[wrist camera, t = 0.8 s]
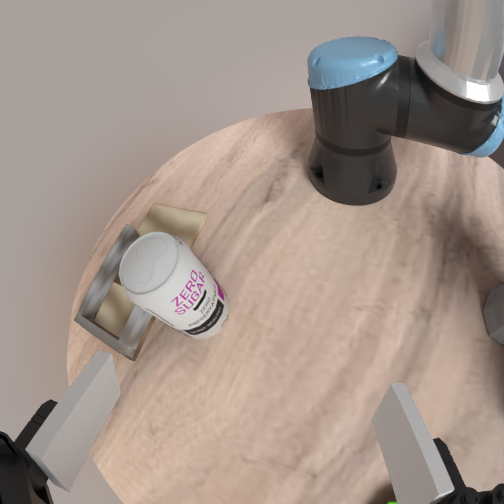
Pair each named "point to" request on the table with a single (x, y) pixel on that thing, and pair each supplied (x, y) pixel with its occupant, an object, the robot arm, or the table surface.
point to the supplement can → (173, 285)
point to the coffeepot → (495, 314)
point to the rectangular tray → (112, 292)
